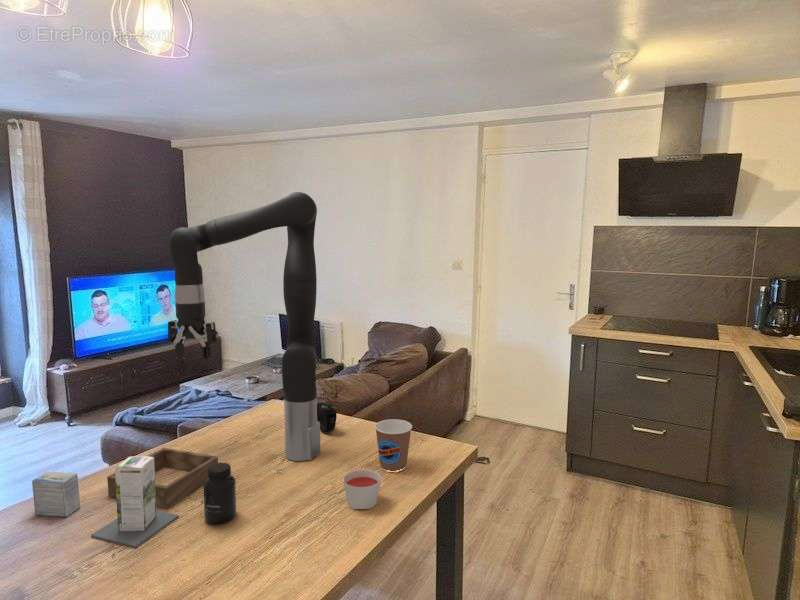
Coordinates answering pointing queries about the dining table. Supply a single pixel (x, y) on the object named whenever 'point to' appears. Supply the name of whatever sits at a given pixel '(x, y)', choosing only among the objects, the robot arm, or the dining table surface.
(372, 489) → the candle
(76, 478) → the medicine box
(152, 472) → the syrup box
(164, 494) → the walnut crate
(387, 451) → the coffee cup
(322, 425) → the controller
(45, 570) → the dining table surface
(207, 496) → the supplement bottle
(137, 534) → the mat
